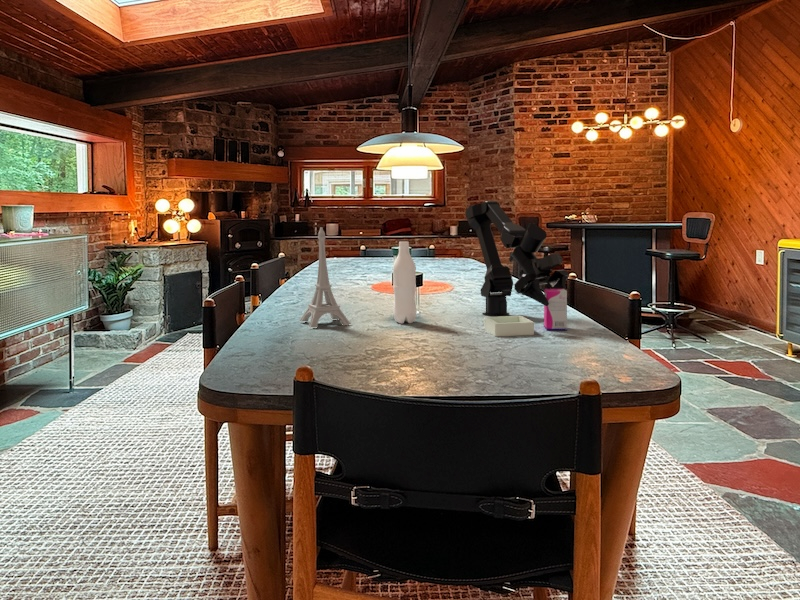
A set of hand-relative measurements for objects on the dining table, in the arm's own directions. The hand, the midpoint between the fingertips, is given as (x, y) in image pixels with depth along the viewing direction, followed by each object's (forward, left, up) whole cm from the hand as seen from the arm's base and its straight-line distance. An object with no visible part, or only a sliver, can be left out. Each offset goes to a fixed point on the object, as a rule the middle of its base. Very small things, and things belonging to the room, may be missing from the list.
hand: (558, 303), depth 181 cm
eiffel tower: (-54, -45, -8) cm, 71 cm away
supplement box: (-1, 0, -8) cm, 8 cm away
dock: (-7, -13, -7) cm, 17 cm away
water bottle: (-39, -25, -8) cm, 47 cm away
